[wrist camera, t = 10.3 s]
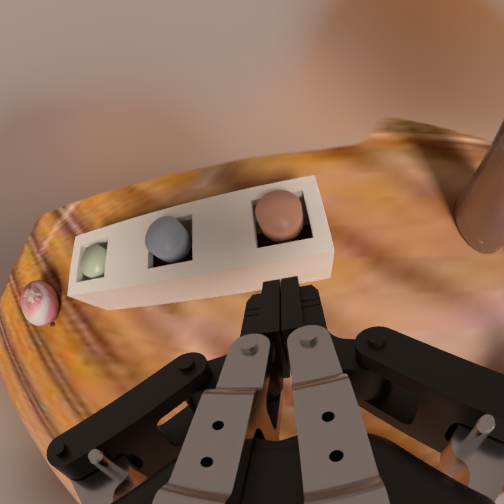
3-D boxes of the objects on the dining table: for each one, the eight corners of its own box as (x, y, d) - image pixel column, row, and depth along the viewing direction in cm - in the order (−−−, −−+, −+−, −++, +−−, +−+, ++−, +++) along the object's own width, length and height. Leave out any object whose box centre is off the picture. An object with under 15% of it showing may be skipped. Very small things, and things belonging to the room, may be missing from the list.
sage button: (117, 248, 31) (104, 240, 29) (114, 280, 29) (101, 273, 27) (95, 254, 31) (82, 247, 29) (92, 284, 30) (78, 277, 28)
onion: (72, 302, 38) (45, 304, 31) (55, 334, 37) (29, 340, 30) (48, 272, 38) (21, 269, 31) (33, 303, 38) (7, 305, 31)
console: (316, 215, 33) (314, 175, 25) (330, 277, 29) (334, 250, 22) (111, 258, 38) (75, 236, 30) (107, 310, 34) (67, 295, 27)
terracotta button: (299, 201, 26) (297, 186, 24) (307, 238, 24) (306, 225, 22) (258, 209, 27) (252, 195, 24) (263, 246, 25) (257, 234, 23)
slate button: (191, 223, 28) (181, 211, 25) (192, 259, 26) (180, 250, 24) (158, 231, 28) (146, 221, 26) (156, 266, 27) (143, 257, 24)
